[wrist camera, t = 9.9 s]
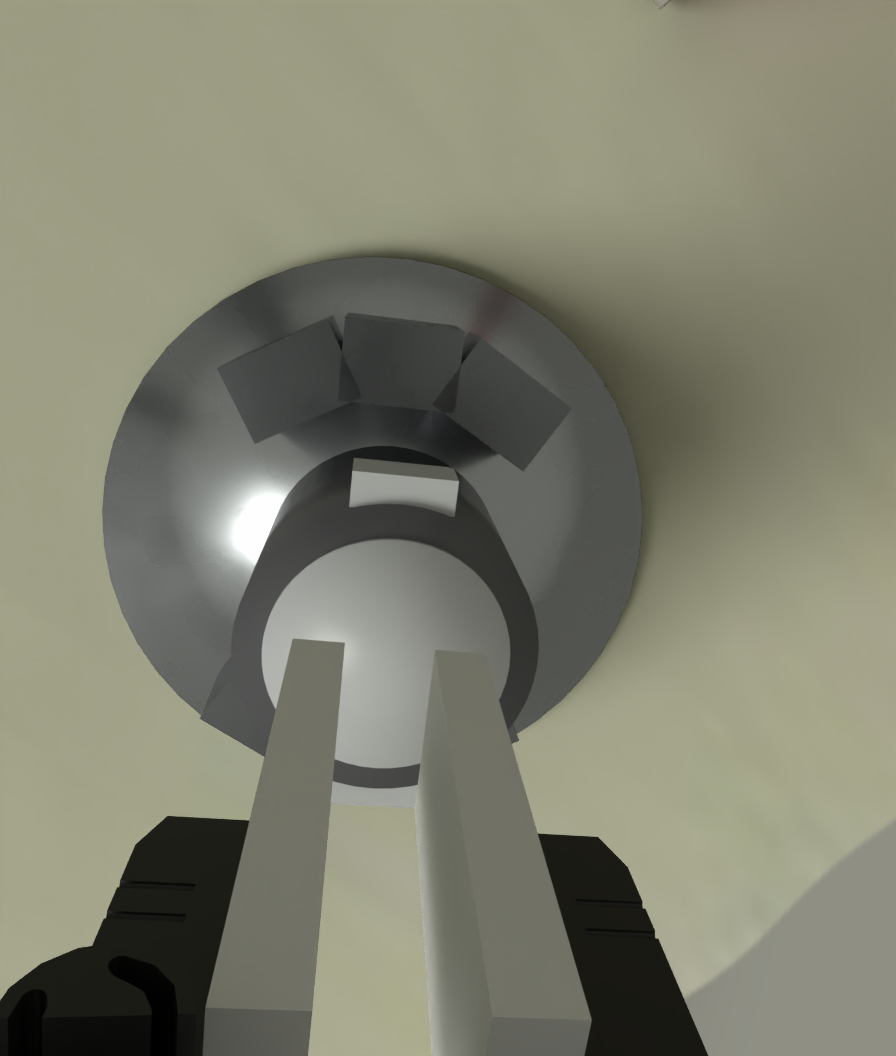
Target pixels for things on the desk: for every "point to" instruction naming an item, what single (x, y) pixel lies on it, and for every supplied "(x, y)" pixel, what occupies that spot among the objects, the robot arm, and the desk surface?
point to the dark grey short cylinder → (383, 607)
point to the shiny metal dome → (355, 422)
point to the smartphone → (661, 3)
